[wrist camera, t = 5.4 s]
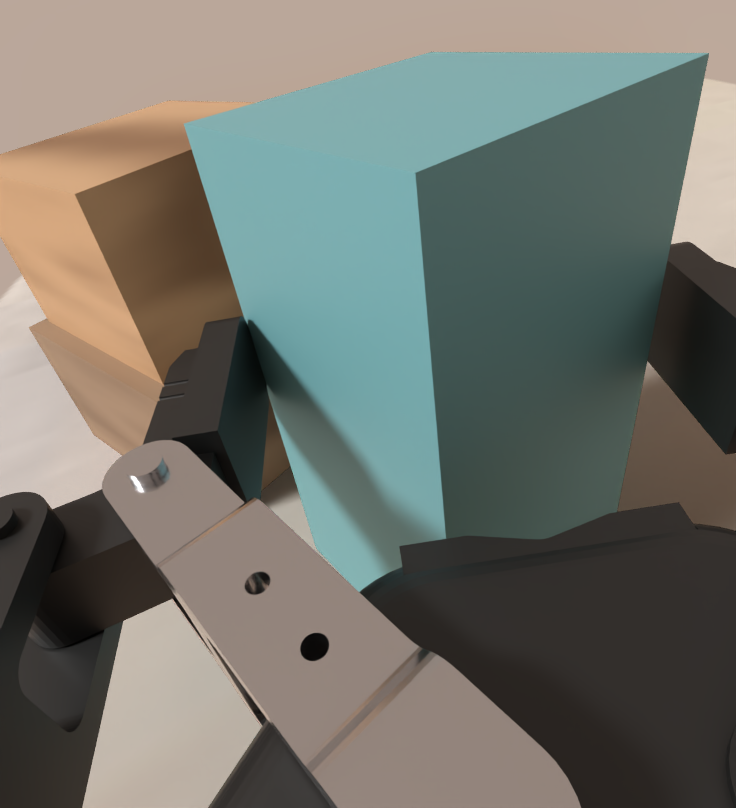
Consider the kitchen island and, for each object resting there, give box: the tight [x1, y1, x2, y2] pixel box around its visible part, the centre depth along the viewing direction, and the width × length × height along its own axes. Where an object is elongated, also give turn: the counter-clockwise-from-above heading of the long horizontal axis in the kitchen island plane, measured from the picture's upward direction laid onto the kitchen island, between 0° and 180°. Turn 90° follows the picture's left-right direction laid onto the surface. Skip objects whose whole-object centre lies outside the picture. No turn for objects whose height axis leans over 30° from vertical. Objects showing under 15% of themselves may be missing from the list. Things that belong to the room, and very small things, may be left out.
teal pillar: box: [184, 52, 709, 592], centre depth 12 cm, size 6×6×11 cm
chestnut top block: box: [0, 101, 253, 385], centre depth 17 cm, size 7×7×5 cm
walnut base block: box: [29, 319, 290, 491], centre depth 20 cm, size 8×8×5 cm
